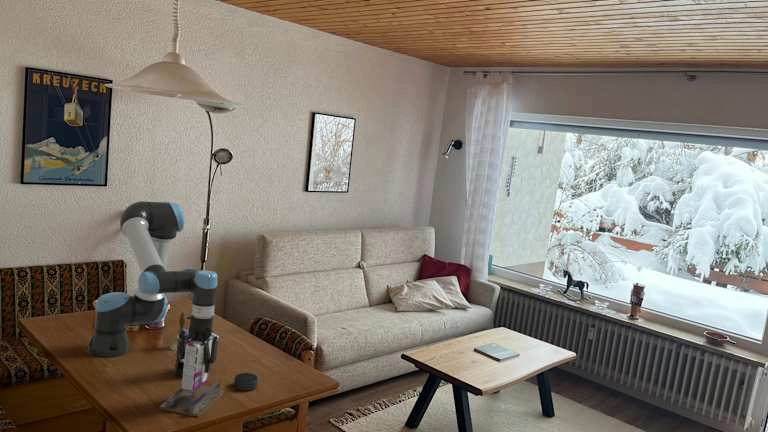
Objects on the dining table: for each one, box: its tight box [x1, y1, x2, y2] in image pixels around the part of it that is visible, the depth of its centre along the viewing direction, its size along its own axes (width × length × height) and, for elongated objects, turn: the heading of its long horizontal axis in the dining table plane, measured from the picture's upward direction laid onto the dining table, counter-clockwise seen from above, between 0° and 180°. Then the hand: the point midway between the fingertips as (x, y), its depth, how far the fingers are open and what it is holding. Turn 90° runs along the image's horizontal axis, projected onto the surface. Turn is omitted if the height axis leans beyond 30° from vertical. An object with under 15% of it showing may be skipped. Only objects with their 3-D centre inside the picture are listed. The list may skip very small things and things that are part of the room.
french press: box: [172, 315, 192, 379], centre depth 226 cm, size 12×9×23 cm
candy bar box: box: [180, 337, 212, 391], centre depth 204 cm, size 11×5×16 cm, turn 169°
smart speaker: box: [233, 372, 259, 392], centre depth 223 cm, size 9×9×4 cm
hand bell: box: [169, 311, 187, 352], centre depth 251 cm, size 8×8×16 cm
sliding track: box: [159, 381, 225, 418], centre depth 206 cm, size 14×21×4 cm, turn 172°
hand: (195, 379), depth 205 cm, fingers closed on candy bar box, 5 cm apart
